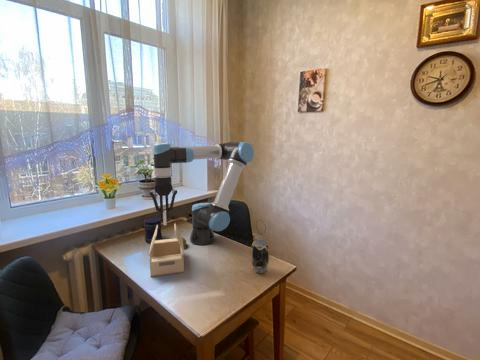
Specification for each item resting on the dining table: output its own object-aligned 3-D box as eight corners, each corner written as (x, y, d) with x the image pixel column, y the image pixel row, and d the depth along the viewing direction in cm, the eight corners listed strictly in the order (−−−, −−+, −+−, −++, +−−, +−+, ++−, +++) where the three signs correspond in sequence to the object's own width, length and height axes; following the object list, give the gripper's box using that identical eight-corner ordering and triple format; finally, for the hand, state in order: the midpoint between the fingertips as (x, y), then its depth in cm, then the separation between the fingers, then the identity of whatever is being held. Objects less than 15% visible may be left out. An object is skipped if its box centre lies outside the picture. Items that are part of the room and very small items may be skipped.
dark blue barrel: (165, 242, 153) (164, 218, 151) (152, 247, 145) (150, 223, 142) (155, 238, 158) (153, 216, 156) (141, 244, 150) (140, 220, 148)
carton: (181, 252, 138) (181, 237, 137) (184, 276, 115) (183, 257, 113) (153, 256, 134) (152, 240, 133) (150, 280, 111) (148, 262, 109)
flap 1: (157, 225, 128) (157, 224, 127) (156, 236, 113) (155, 235, 113) (152, 243, 128) (151, 242, 128) (149, 256, 114) (148, 256, 113)
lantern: (248, 268, 122) (248, 219, 118) (260, 263, 126) (261, 215, 123) (260, 275, 115) (260, 223, 111) (272, 270, 120) (273, 220, 116)
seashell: (183, 256, 143) (192, 245, 147) (181, 251, 137) (190, 239, 141) (170, 248, 146) (179, 237, 150) (167, 243, 140) (177, 232, 145)
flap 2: (174, 234, 115) (175, 233, 115) (174, 223, 130) (175, 223, 130) (183, 252, 117) (184, 251, 118) (181, 239, 132) (182, 239, 132)
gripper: (177, 175, 122) (178, 220, 126) (149, 175, 119) (151, 223, 123) (177, 177, 115) (179, 225, 119) (147, 178, 112) (150, 228, 115)
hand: (165, 224), depth 121 cm, fingers closed
